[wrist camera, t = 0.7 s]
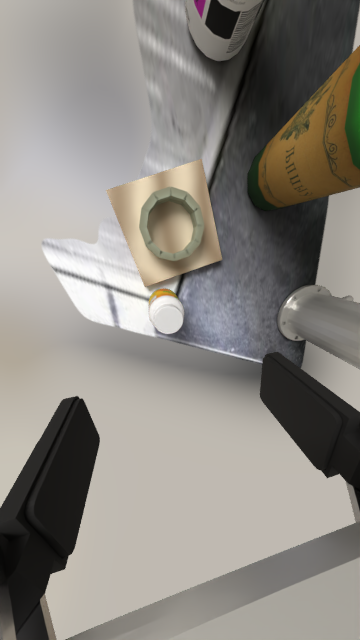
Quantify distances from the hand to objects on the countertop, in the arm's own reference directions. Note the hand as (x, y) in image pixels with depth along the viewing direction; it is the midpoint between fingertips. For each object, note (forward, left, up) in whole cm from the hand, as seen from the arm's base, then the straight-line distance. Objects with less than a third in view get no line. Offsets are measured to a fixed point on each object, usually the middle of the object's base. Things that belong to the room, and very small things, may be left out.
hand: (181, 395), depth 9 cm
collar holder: (-5, -9, -24) cm, 27 cm away
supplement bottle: (0, +2, -25) cm, 25 cm away
